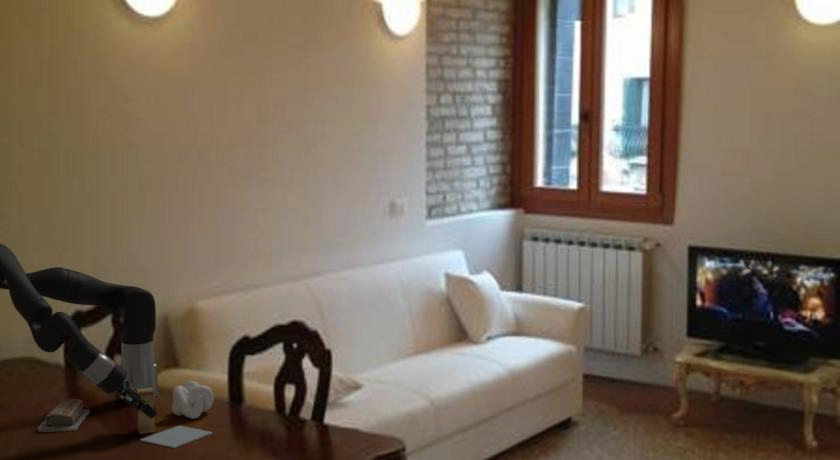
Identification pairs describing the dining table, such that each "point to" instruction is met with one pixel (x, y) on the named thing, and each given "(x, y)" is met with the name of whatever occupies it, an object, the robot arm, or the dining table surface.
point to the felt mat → (176, 436)
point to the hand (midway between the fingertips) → (153, 413)
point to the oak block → (143, 420)
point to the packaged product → (64, 416)
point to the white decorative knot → (191, 399)
